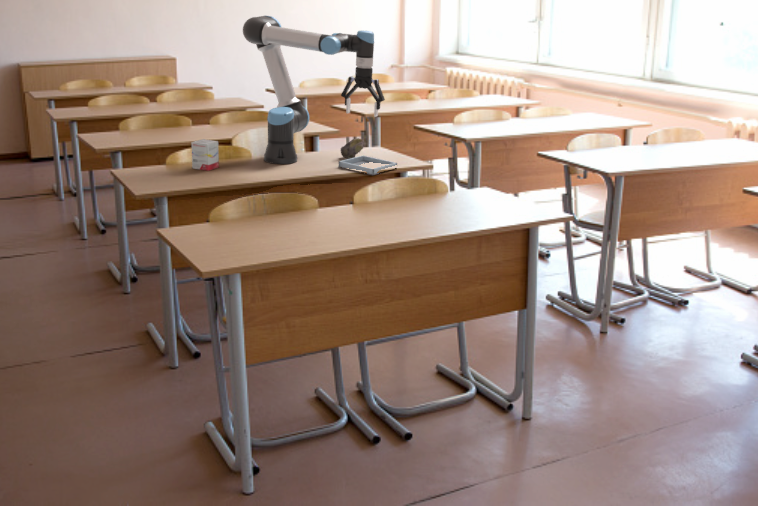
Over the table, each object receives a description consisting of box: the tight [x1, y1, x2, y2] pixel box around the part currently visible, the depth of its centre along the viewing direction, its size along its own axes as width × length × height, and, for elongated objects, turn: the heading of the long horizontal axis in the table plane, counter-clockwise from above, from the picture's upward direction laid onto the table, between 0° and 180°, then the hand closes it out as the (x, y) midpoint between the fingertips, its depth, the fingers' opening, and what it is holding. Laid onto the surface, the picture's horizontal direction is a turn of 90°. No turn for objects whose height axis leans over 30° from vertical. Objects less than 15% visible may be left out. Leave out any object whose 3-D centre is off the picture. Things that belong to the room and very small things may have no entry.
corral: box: [338, 155, 398, 176], centre depth 376 cm, size 20×18×3 cm
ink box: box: [190, 138, 220, 171], centre depth 362 cm, size 9×9×12 cm
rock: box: [340, 137, 365, 159], centre depth 391 cm, size 11×10×10 cm
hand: (361, 114), depth 377 cm, fingers open, 13 cm apart
